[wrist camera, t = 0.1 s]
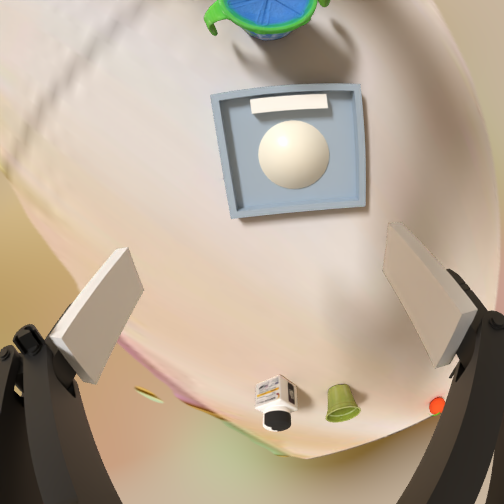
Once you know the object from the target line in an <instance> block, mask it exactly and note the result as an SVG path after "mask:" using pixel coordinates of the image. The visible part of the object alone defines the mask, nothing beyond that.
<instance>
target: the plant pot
mask: <svg viewBox="0 0 504 504" xmlns="http://www.w3.org/2000/svg"><path fill="white" fill-rule="evenodd" d="M360 411H361V409H360V408H359V407H358V406H357V404H356V403H355V400H354V398H353V395H352V393H351V390H350V388H349V386H348V385H346V384H343V385H335V386H333V387H331V388H330V389H329V391H328V411H327V415H326V420H327V421H329V422H343V421H347V420H350V419H352V418H354V417H356V416H357V415H358V414H359V413H360Z"/></svg>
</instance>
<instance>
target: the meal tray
mask: <svg viewBox="0 0 504 504" xmlns="http://www.w3.org/2000/svg"><path fill="white" fill-rule="evenodd" d="M210 97H211V103H212V110H213V116H214V122H215V128H216V134H217V140H218V146H219V152H220V158H221V164H222V170H223V176H224V182H225V187H226V193H227V199H228V205H229V210H230V216H231V219H234V218H243V217H252V216H261V215H271V214H281V213H291V212H302V211H313V210H325V209H337V208H350V207H364V206H365V204H366V158H365V134H364V118H363V106H362V95H361V86H360V84H340V83H322V84H295V85H280V86H269V87H260V88H251V89H244V90H237V91H230V92H224V93H218V94H213V95H210Z"/></svg>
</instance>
